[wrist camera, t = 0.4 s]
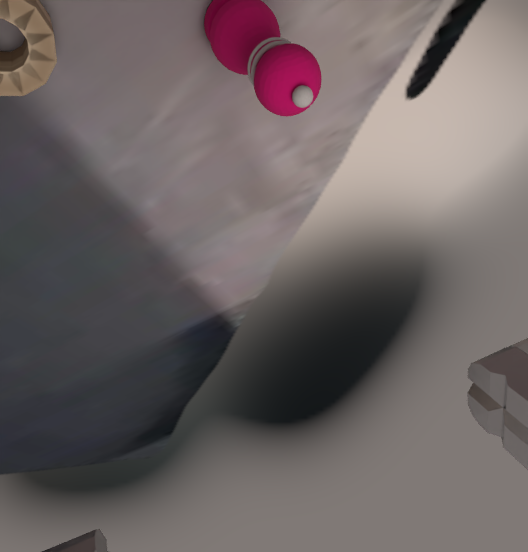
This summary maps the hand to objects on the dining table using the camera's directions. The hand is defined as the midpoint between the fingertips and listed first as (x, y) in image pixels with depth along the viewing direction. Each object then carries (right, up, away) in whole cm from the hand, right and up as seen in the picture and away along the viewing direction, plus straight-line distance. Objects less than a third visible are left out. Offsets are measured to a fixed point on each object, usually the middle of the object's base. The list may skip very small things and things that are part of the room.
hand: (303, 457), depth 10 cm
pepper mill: (-4, +32, +44) cm, 54 cm away
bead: (-26, +27, +37) cm, 52 cm away
